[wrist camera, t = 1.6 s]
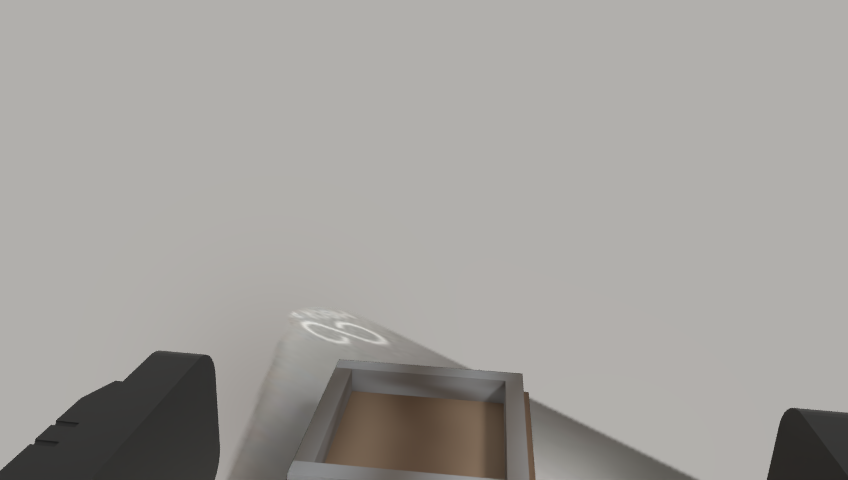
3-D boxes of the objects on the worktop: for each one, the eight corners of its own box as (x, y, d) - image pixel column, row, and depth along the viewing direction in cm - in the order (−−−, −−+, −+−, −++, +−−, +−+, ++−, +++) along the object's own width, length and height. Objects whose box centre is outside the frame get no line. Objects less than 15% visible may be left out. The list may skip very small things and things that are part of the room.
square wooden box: (523, 448, 43) (530, 370, 42) (532, 604, 32) (542, 505, 30) (333, 432, 44) (332, 354, 43) (277, 577, 33) (273, 479, 31)
